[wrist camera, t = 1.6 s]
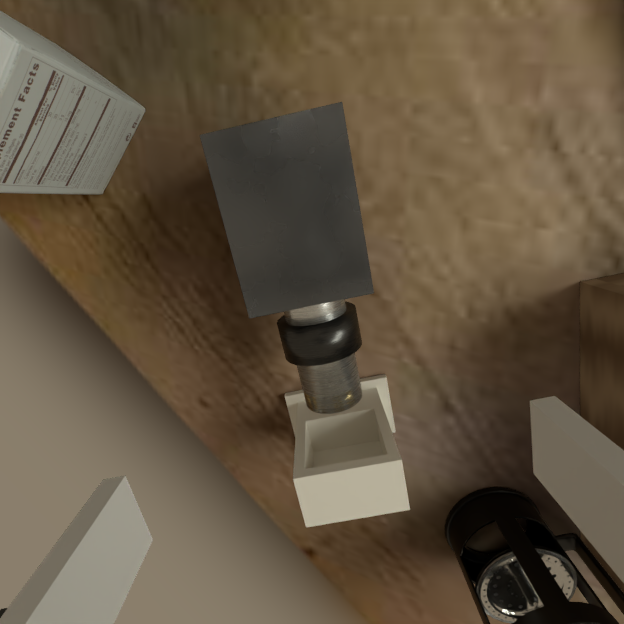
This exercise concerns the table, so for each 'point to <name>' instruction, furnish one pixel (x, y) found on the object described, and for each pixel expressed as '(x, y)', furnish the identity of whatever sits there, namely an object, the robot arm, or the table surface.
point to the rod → (324, 353)
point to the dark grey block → (291, 209)
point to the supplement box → (57, 118)
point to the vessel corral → (603, 366)
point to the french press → (525, 564)
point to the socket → (347, 458)
